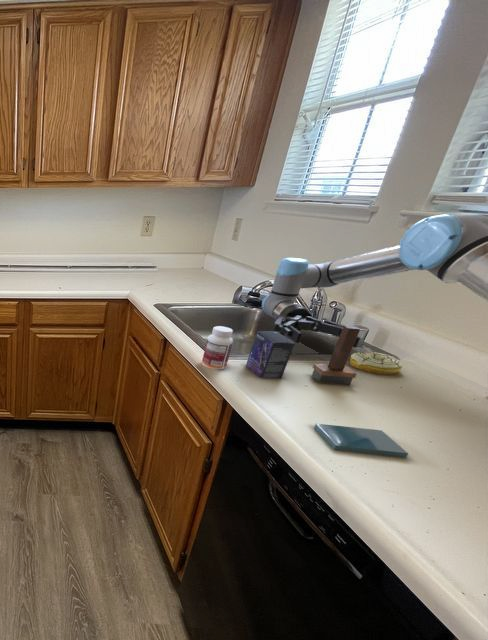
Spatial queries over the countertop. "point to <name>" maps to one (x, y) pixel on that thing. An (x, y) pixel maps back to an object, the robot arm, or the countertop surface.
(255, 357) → the box
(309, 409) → the countertop surface
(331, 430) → the tile
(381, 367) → the decorated donut
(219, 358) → the pill bottle
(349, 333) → the brush
